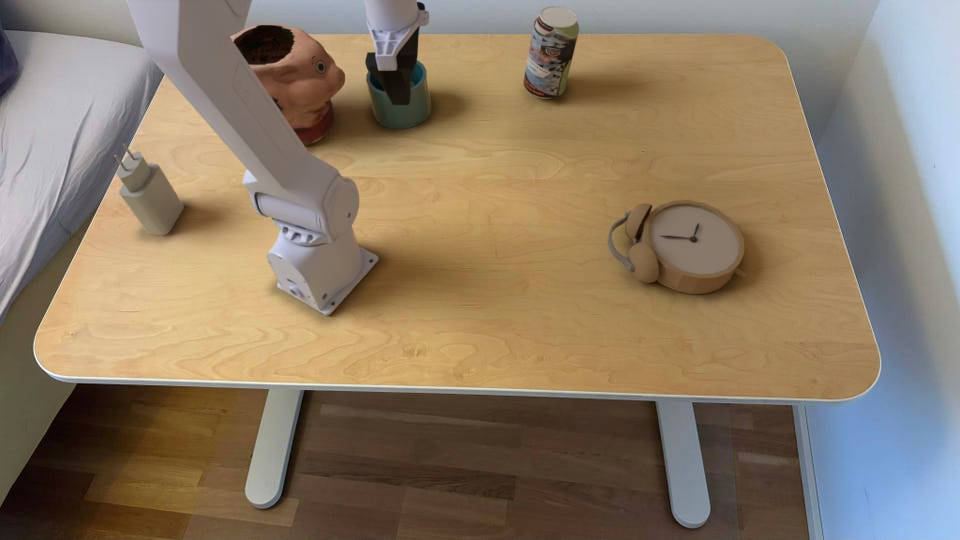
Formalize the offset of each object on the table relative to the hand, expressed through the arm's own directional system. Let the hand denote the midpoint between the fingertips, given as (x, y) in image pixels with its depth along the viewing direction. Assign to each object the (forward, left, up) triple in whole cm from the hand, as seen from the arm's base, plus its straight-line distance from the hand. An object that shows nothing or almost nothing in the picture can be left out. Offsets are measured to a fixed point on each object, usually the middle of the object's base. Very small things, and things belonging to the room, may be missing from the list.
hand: (404, 82), depth 82 cm
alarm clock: (0, -37, -11) cm, 38 cm away
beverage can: (+19, -10, -11) cm, 24 cm away
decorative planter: (-6, +18, -11) cm, 22 cm away
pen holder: (+5, +6, -10) cm, 13 cm away
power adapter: (-27, +20, -11) cm, 35 cm away
